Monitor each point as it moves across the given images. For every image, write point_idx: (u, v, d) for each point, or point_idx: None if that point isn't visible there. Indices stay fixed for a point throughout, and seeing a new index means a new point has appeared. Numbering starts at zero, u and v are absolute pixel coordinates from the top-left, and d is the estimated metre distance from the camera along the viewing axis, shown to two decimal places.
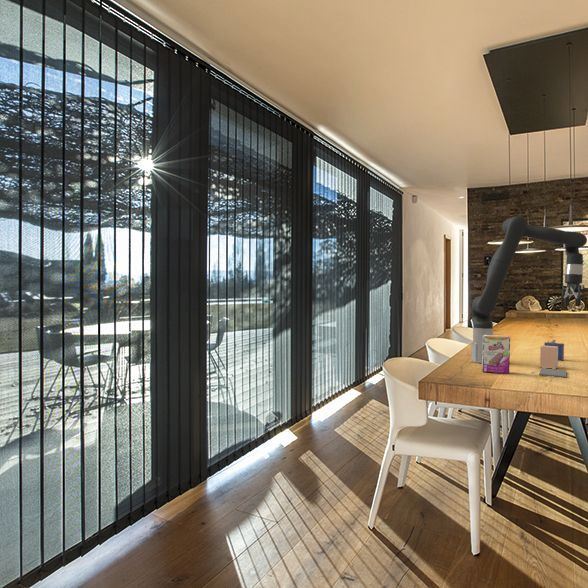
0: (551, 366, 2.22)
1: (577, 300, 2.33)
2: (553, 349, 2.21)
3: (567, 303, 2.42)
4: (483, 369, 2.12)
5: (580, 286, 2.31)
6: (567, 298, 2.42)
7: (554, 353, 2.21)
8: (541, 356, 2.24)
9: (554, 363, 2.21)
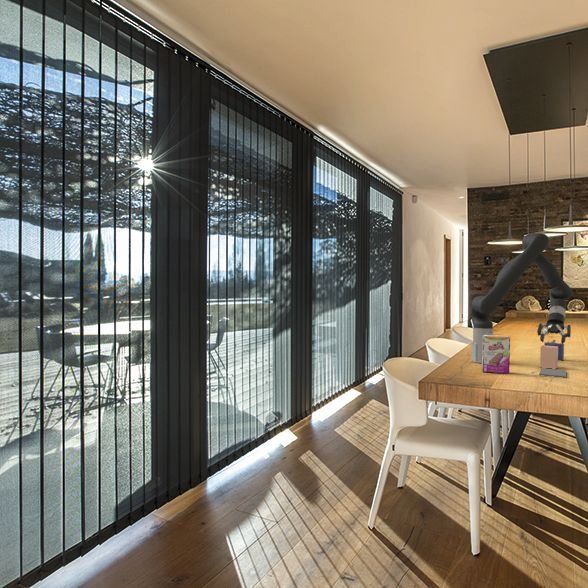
0: (551, 366, 2.22)
1: (564, 337, 2.30)
2: (553, 349, 2.21)
3: (543, 338, 2.35)
4: (483, 369, 2.12)
5: (570, 326, 2.32)
6: (543, 335, 2.36)
7: (554, 353, 2.21)
8: (541, 356, 2.24)
9: (554, 363, 2.21)
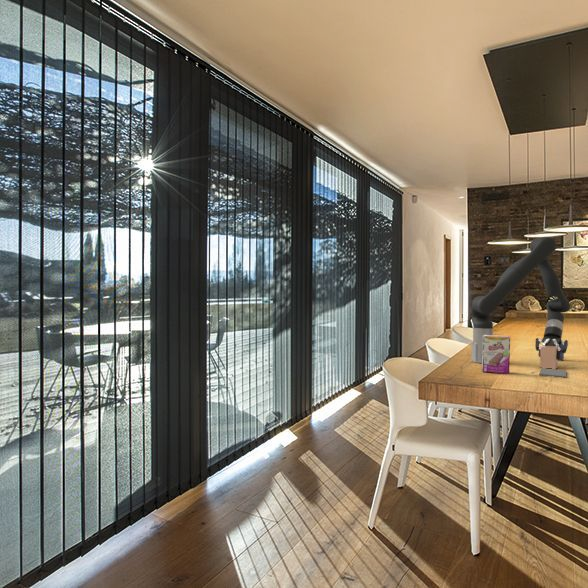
0: (551, 366, 2.22)
1: (559, 352, 2.23)
2: (553, 349, 2.21)
3: None
4: (483, 369, 2.12)
5: (567, 342, 2.25)
6: None
7: (554, 353, 2.21)
8: (541, 356, 2.24)
9: (554, 363, 2.21)
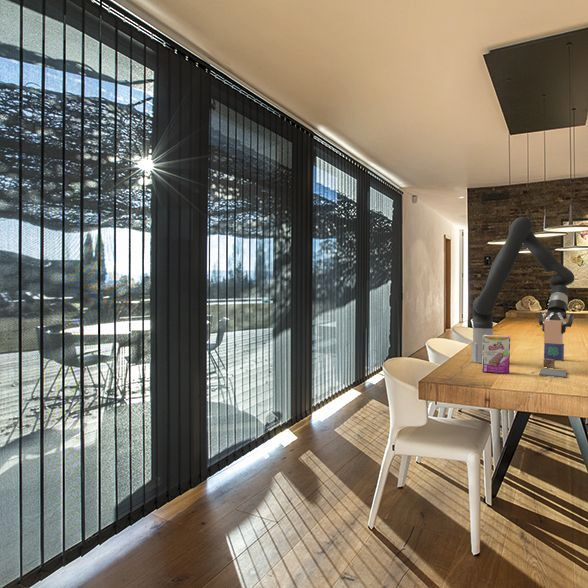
0: (556, 341, 2.08)
1: (564, 326, 2.10)
2: (558, 322, 2.08)
3: None
4: (483, 369, 2.12)
5: None
6: None
7: (559, 327, 2.08)
8: (545, 330, 2.11)
9: (559, 337, 2.08)
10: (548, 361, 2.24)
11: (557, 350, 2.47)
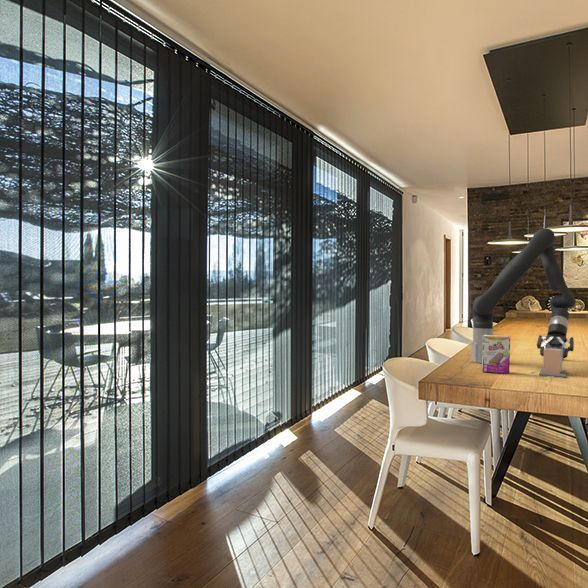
0: (555, 370, 2.06)
1: (566, 351, 2.07)
2: (557, 352, 2.06)
3: (543, 352, 2.12)
4: (483, 369, 2.12)
5: (573, 339, 2.10)
6: (544, 348, 2.14)
7: (558, 356, 2.06)
8: (544, 360, 2.09)
9: (558, 367, 2.06)
10: None
11: None
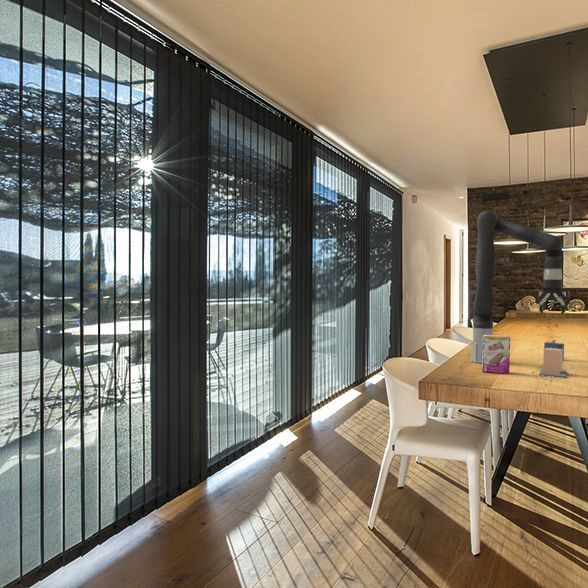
0: (555, 370, 2.06)
1: (564, 307, 2.21)
2: (557, 352, 2.06)
3: (542, 310, 2.26)
4: (483, 369, 2.12)
5: (568, 293, 2.19)
6: (542, 304, 2.27)
7: (558, 356, 2.06)
8: (544, 360, 2.09)
9: (558, 367, 2.06)
10: None
11: None
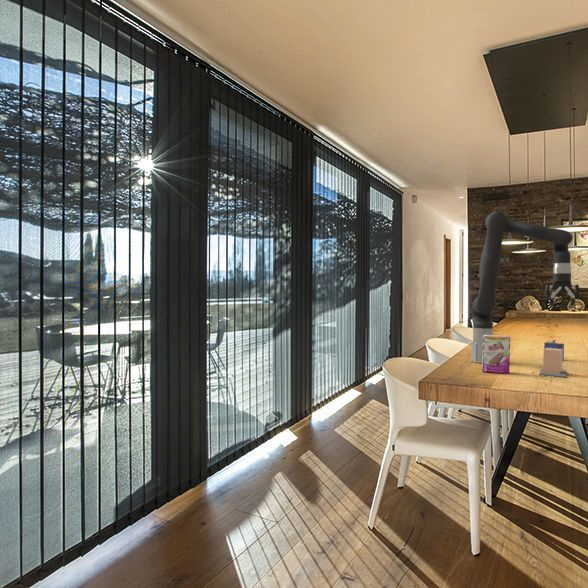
0: (555, 370, 2.06)
1: (573, 300, 2.30)
2: (557, 352, 2.06)
3: None
4: (483, 369, 2.12)
5: None
6: None
7: (558, 356, 2.06)
8: (544, 360, 2.09)
9: (558, 367, 2.06)
10: None
11: None
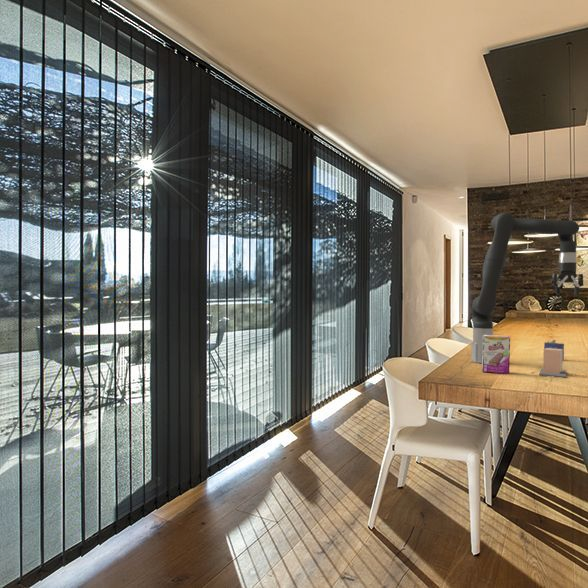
0: (555, 370, 2.06)
1: (578, 289, 2.35)
2: (557, 352, 2.06)
3: None
4: (483, 369, 2.12)
5: None
6: None
7: (558, 356, 2.06)
8: (544, 360, 2.09)
9: (558, 367, 2.06)
10: None
11: None
